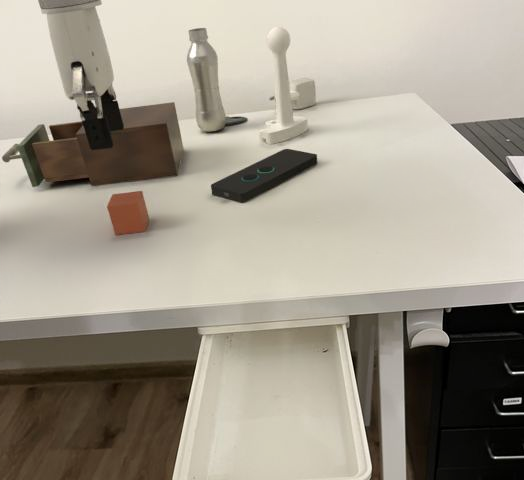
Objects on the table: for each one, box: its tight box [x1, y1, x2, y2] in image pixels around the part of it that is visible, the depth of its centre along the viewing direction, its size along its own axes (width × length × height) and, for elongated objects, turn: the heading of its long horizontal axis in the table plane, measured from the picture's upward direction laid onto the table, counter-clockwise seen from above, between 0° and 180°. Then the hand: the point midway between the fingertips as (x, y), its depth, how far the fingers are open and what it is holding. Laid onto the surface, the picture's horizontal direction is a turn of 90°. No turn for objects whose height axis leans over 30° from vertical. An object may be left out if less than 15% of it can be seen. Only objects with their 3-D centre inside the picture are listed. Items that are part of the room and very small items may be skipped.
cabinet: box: [76, 101, 185, 187], centre depth 107 cm, size 17×15×10 cm
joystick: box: [258, 26, 309, 145], centre depth 110 cm, size 11×8×20 cm
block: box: [106, 190, 150, 236], centre depth 86 cm, size 5×5×5 cm
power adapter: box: [268, 77, 317, 110], centre depth 129 cm, size 11×5×6 cm, turn 122°
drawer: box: [1, 120, 89, 188], centre depth 108 cm, size 21×13×8 cm, turn 92°
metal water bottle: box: [186, 27, 227, 132], centre depth 118 cm, size 6×7×20 cm
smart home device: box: [210, 148, 318, 204], centre depth 97 cm, size 8×2×20 cm
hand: (108, 138), depth 79 cm, fingers open, 7 cm apart
